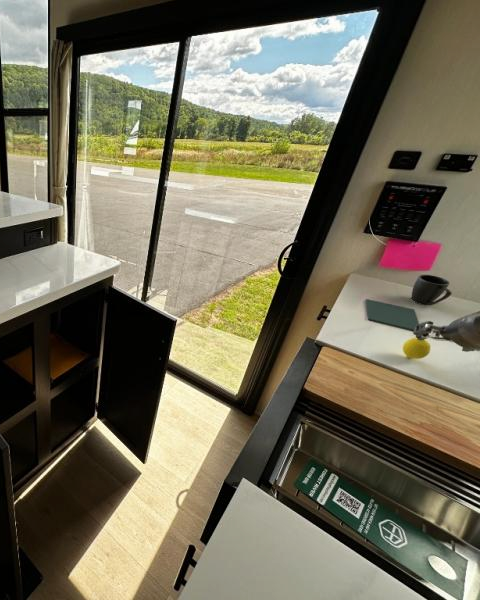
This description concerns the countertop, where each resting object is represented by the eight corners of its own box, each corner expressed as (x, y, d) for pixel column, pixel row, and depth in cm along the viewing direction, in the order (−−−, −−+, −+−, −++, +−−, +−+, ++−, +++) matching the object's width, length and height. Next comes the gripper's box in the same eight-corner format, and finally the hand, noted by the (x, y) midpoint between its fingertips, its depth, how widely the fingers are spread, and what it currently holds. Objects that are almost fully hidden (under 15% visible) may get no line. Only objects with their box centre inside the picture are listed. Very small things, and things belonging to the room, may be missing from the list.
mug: (422, 311, 117) (437, 289, 112) (401, 295, 127) (413, 273, 122) (449, 313, 115) (465, 290, 110) (425, 296, 125) (438, 275, 120)
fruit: (421, 367, 93) (436, 346, 89) (396, 358, 96) (410, 338, 92) (422, 357, 96) (437, 337, 92) (398, 349, 100) (411, 329, 95)
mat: (413, 310, 117) (414, 309, 117) (421, 332, 106) (422, 331, 106) (365, 300, 124) (366, 298, 124) (368, 320, 113) (368, 318, 113)
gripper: (434, 334, 72) (401, 345, 86) (529, 357, 65) (477, 365, 79) (442, 304, 73) (408, 320, 87) (537, 324, 66) (484, 337, 80)
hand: (441, 342), depth 83 cm, fingers open, 8 cm apart
